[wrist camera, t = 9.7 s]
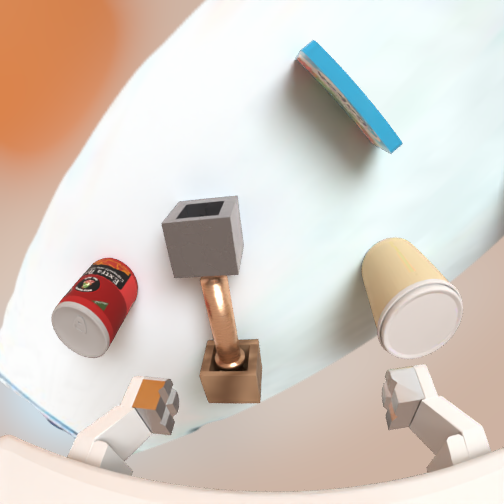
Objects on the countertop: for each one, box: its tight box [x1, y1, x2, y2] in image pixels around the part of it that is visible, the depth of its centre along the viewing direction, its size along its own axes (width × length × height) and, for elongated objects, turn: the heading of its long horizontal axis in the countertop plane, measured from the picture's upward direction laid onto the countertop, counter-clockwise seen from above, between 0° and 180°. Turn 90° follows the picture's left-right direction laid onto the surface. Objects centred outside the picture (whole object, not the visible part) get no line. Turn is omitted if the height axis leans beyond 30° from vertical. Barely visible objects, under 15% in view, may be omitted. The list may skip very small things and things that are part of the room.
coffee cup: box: [361, 237, 463, 359], centre depth 32 cm, size 9×9×12 cm
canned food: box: [52, 258, 138, 358], centre depth 36 cm, size 8×8×11 cm
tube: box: [200, 275, 245, 371], centre depth 39 cm, size 4×16×4 cm, turn 6°
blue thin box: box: [296, 40, 402, 154], centre depth 26 cm, size 12×2×6 cm, turn 45°
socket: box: [199, 339, 262, 403], centre depth 42 cm, size 7×6×7 cm
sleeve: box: [162, 196, 244, 278], centre depth 33 cm, size 7×6×6 cm
